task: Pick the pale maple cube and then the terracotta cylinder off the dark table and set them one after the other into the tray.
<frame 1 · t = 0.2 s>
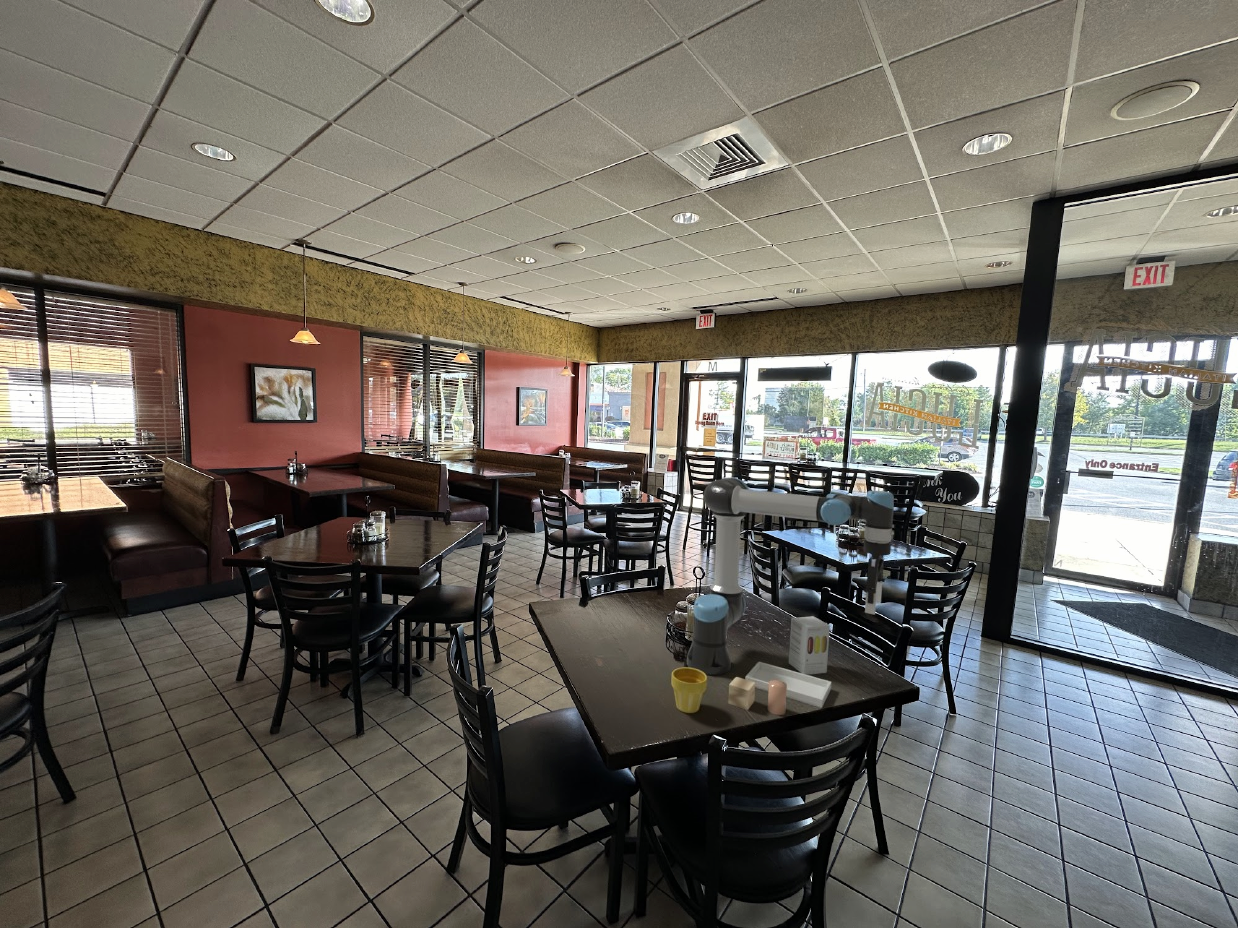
hand: (873, 607, 159), 28 cm above the table, fingers open, 13 cm apart
plant pot: (687, 707, 149), on the table
supplement box: (807, 668, 177), on the table
tray: (787, 686, 163), on the table
maple cube: (741, 702, 153), on the table
terracotta cylinder: (776, 710, 149), on the table
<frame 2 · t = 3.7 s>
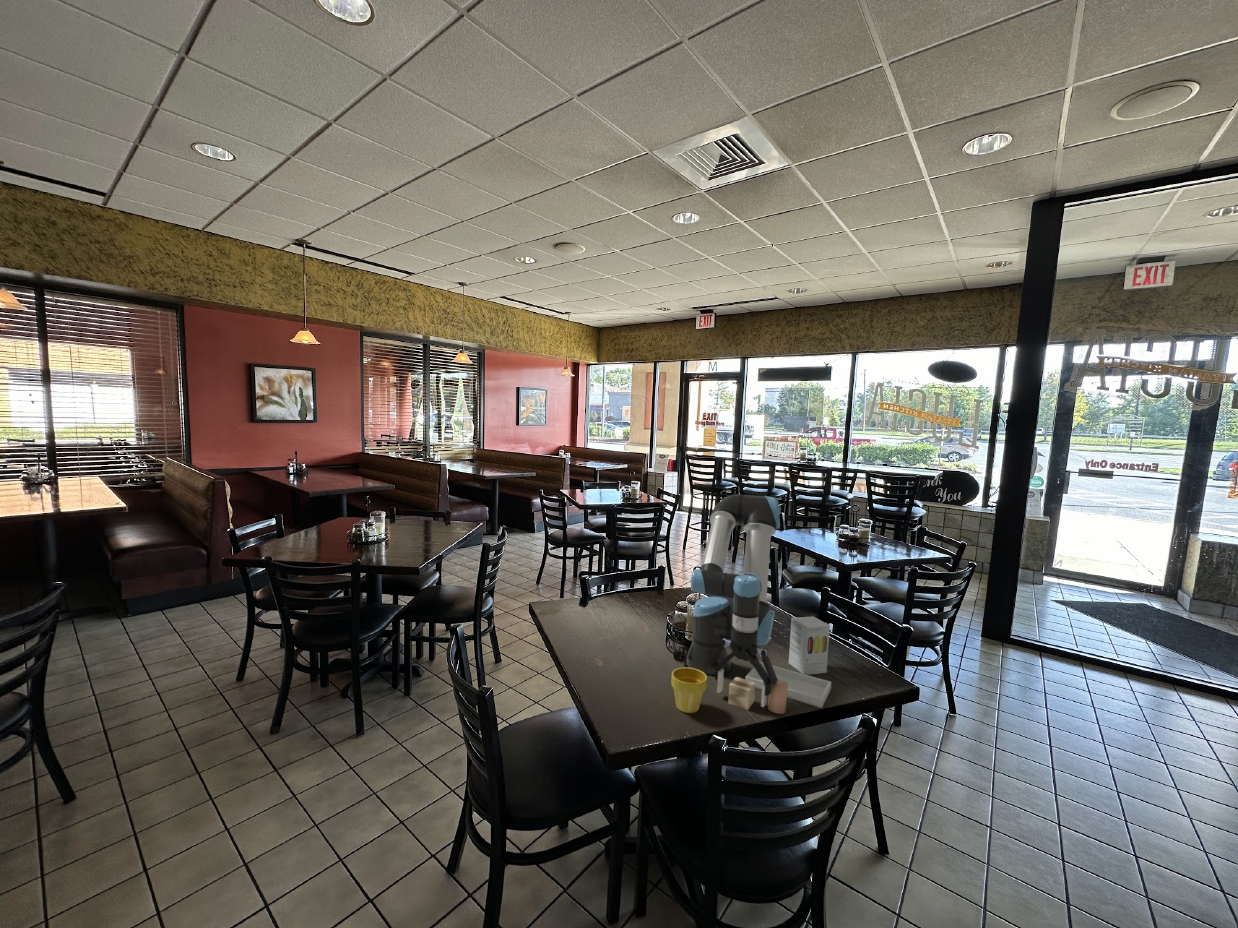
hand: (741, 697, 152), 2 cm above the table, fingers open, 13 cm apart
terracotta cylinder: (776, 709, 149), on the table, tilted 5°
everything else where it was.
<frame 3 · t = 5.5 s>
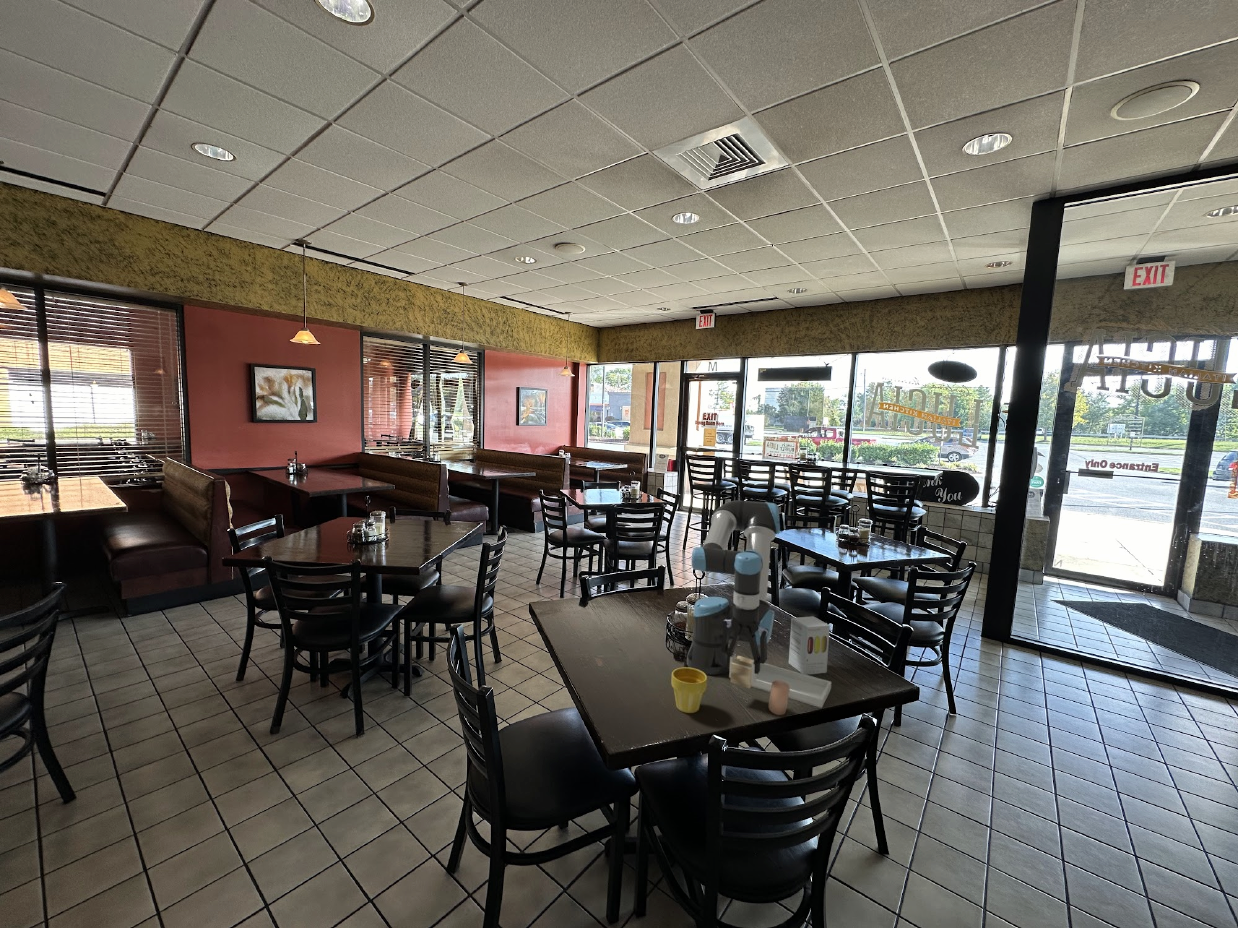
hand: (742, 679, 153), 7 cm above the table, fingers closed on maple cube, 6 cm apart
maple cube: (743, 680, 154), point 6 cm above the table, touching gripper
terracotta cylinder: (777, 708, 149), point 1 cm above the table, tilted 14°
everything else where it was.
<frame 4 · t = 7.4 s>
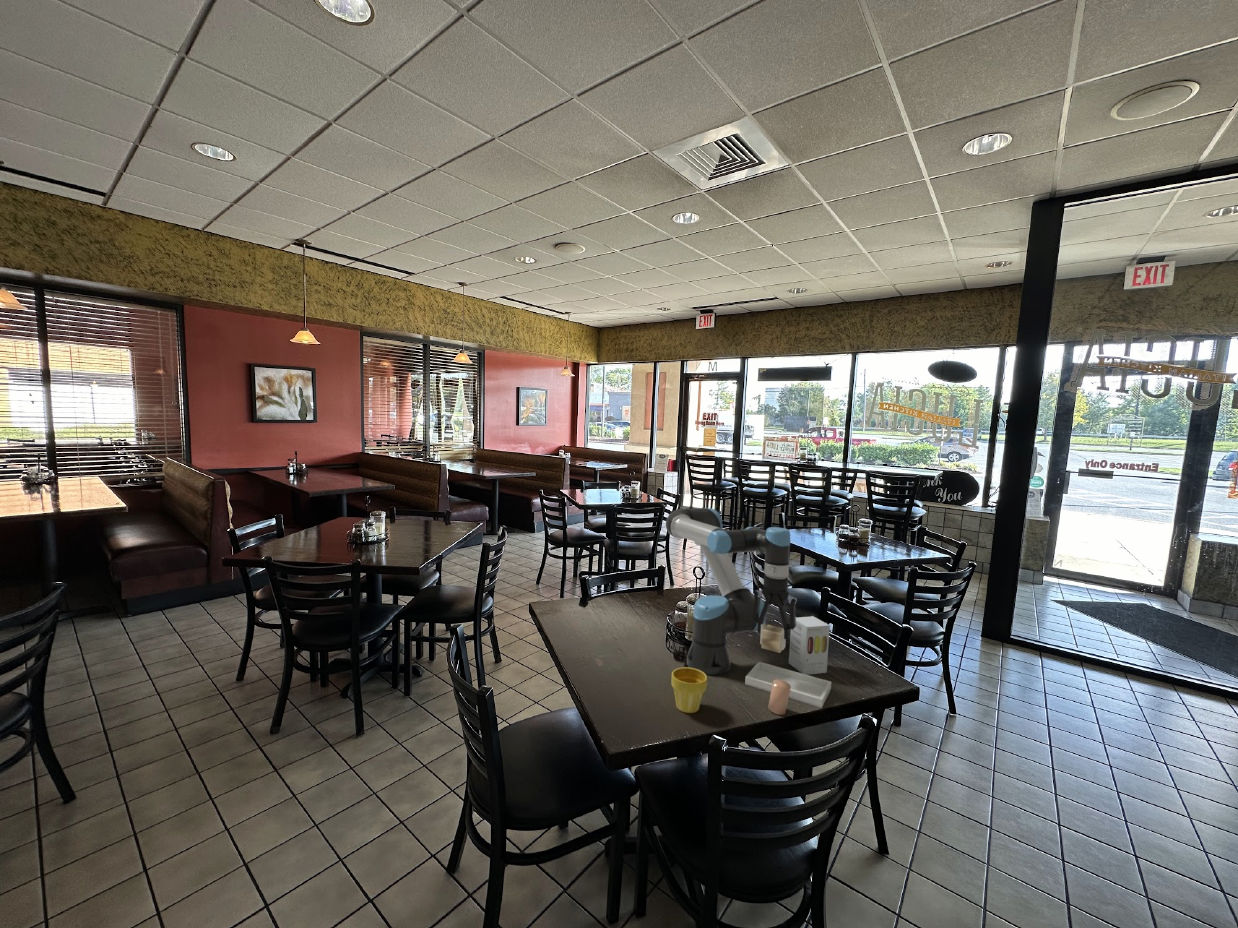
hand: (772, 645, 165), 12 cm above the table, fingers closed on maple cube, 6 cm apart
maple cube: (773, 647, 166), point 11 cm above the table, touching gripper
terracotta cylinder: (776, 709, 149), on the table, tilted 7°
everything else where it was.
when the fingers open (2 cm above the table, at t = 9.5 s): maple cube stays where it is, resting on tray.
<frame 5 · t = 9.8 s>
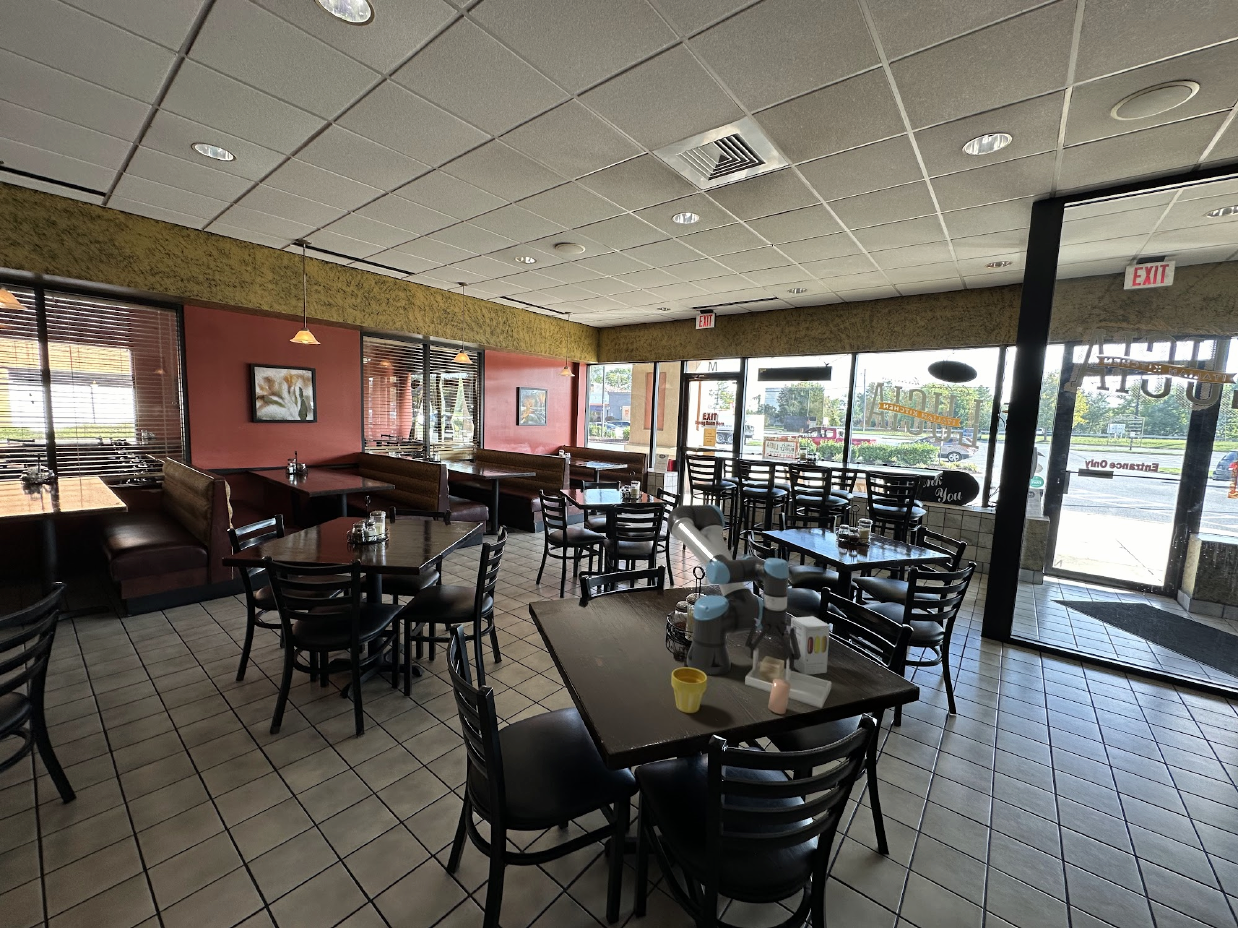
hand: (771, 673, 166), 3 cm above the table, fingers open, 10 cm apart
maple cube: (771, 679, 166), point 1 cm above the table, touching tray
everything else where it was.
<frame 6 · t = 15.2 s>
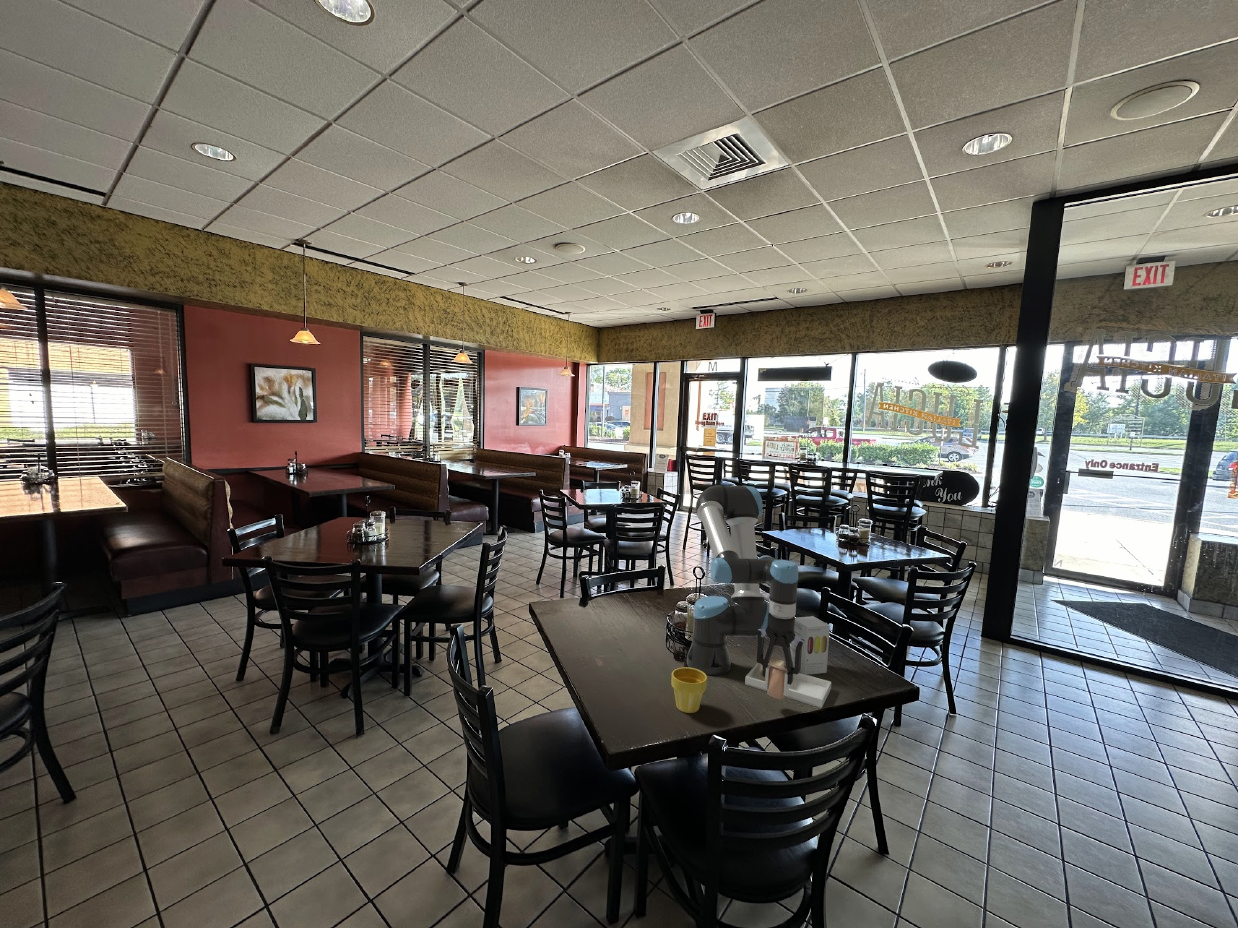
hand: (776, 690, 149), 6 cm above the table, fingers closed on terracotta cylinder, 5 cm apart
terracotta cylinder: (776, 695, 149), point 4 cm above the table, tilted 9°, touching gripper
everything else where it was.
when the fingers open (2 cm above the table, at t = 19.0 s): terracotta cylinder stays where it is, resting on tray.
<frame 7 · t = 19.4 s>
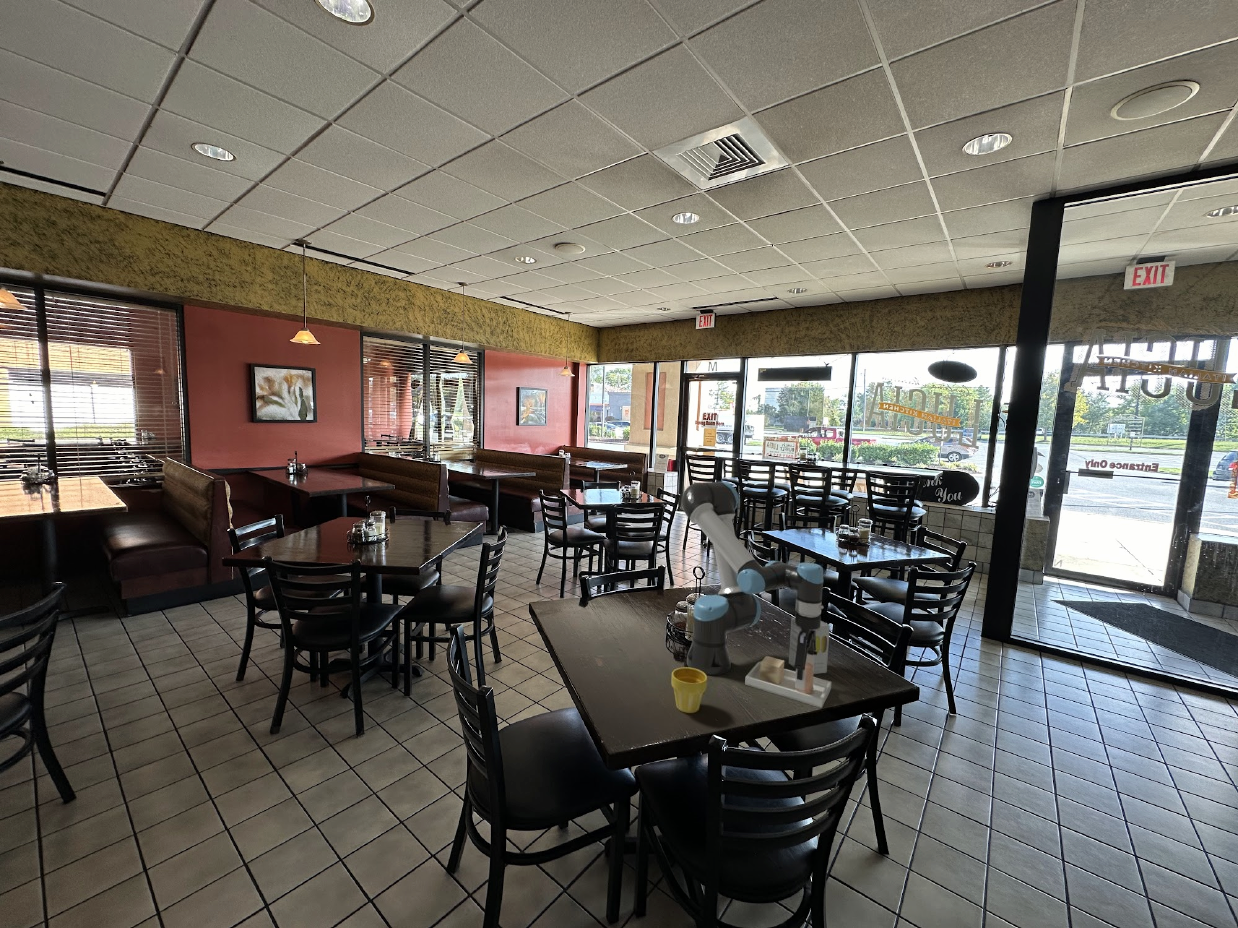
hand: (804, 681, 160), 3 cm above the table, fingers open, 11 cm apart
terracotta cylinder: (805, 689, 160), point 1 cm above the table, tilted 5°, touching tray
everything else where it was.
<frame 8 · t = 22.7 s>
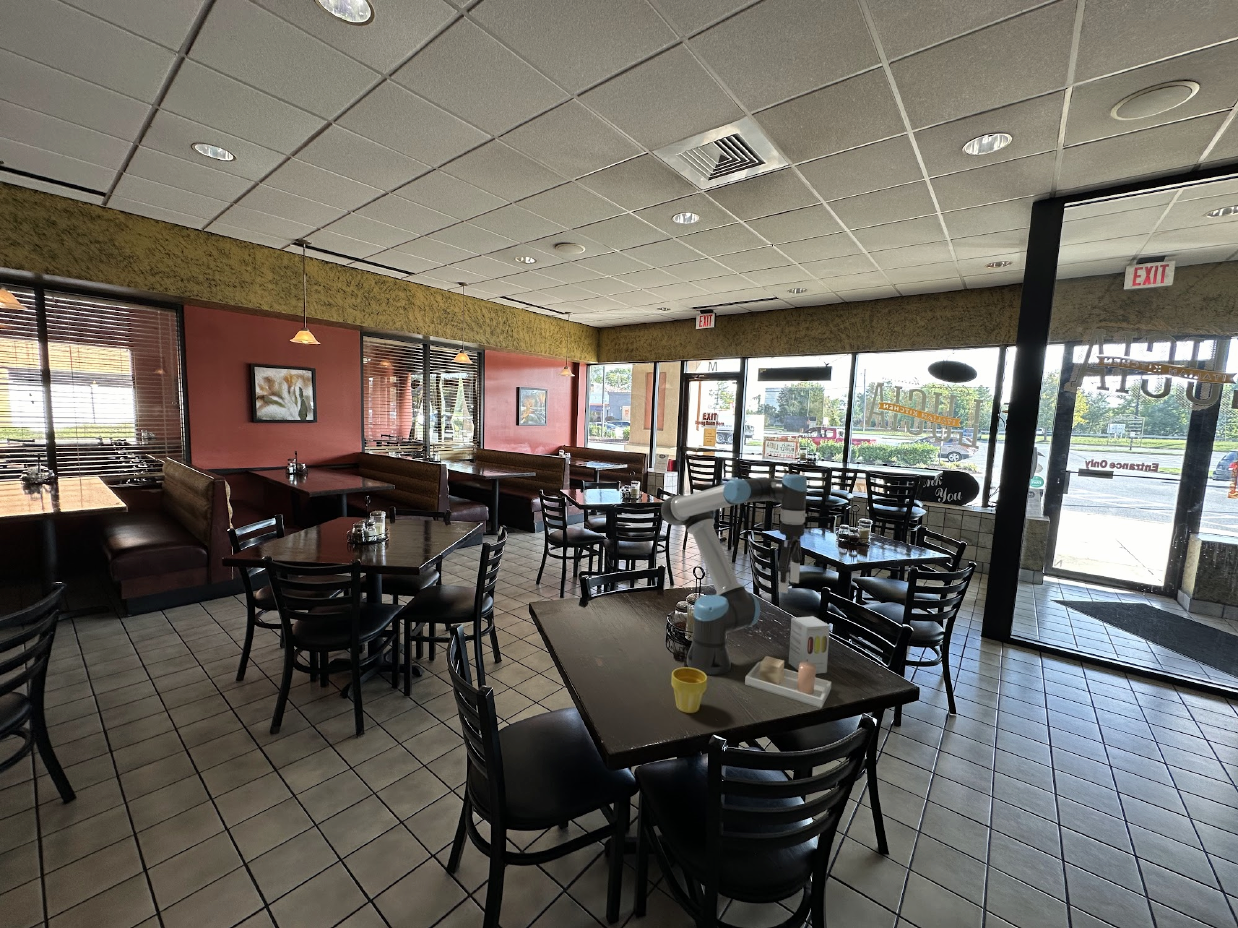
hand: (789, 587, 164), 32 cm above the table, fingers open, 13 cm apart
at the end: maple cube inside the target area on the tray (5.6 cm from its centre), point 0.6 cm above the tray's base; terracotta cylinder inside the target area on the tray (5.4 cm from its centre), point 0.7 cm above the tray's base; the gripper is holding nothing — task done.
